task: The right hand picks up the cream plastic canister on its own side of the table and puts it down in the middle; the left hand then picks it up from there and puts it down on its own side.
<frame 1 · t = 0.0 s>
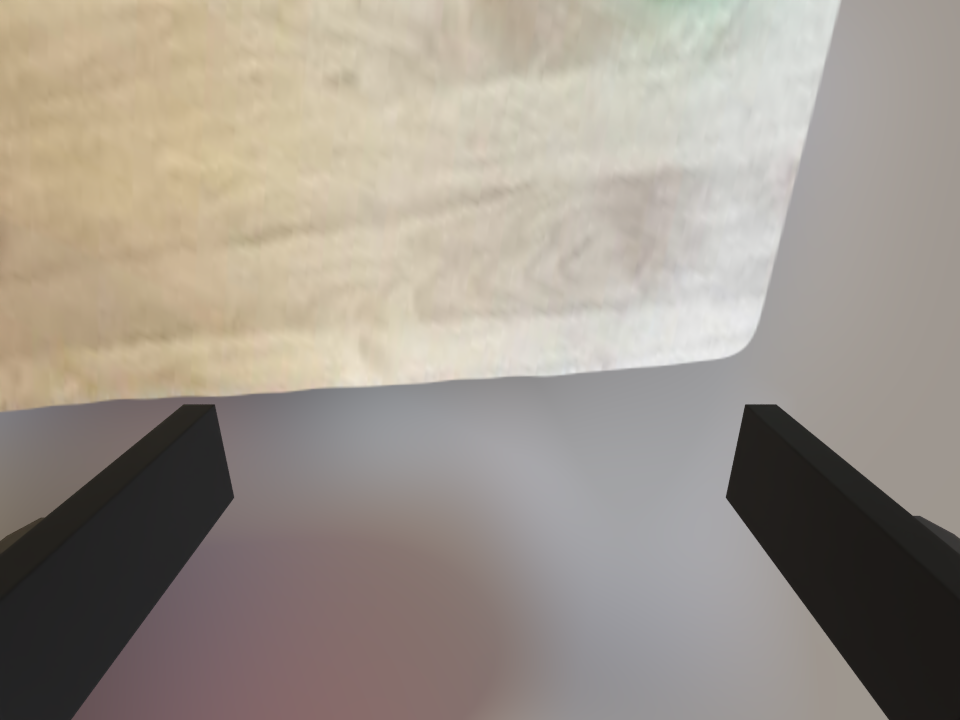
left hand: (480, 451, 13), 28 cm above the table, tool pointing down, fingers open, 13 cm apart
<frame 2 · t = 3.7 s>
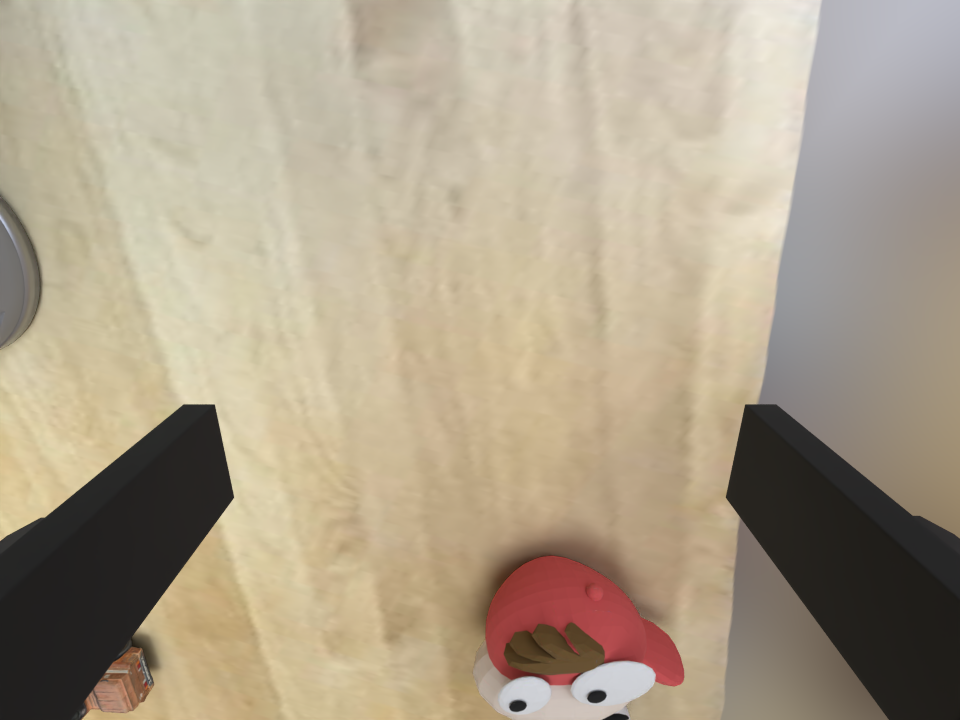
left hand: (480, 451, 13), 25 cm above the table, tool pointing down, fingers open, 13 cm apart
toy: (567, 659, 50), on the table
toy car: (99, 654, 50), on the table
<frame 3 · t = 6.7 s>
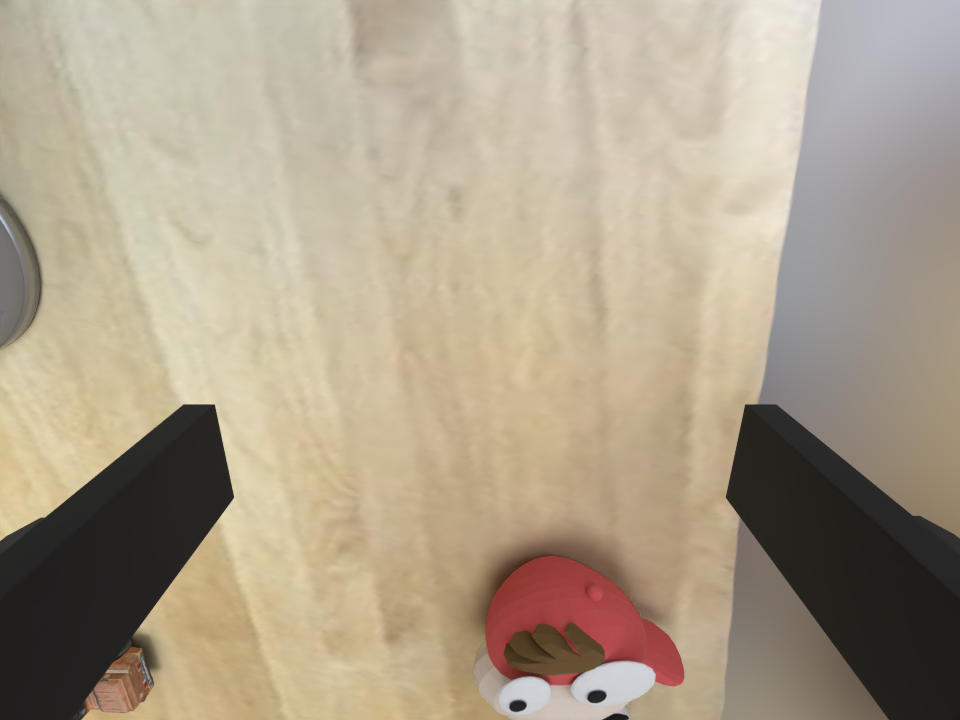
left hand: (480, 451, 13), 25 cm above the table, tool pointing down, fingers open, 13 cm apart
toy: (567, 659, 50), on the table
toy car: (99, 654, 50), on the table
when the right hand's fingers open (4 cm above the table, at t = 10.2 s): canister drops 1 cm, on the table.
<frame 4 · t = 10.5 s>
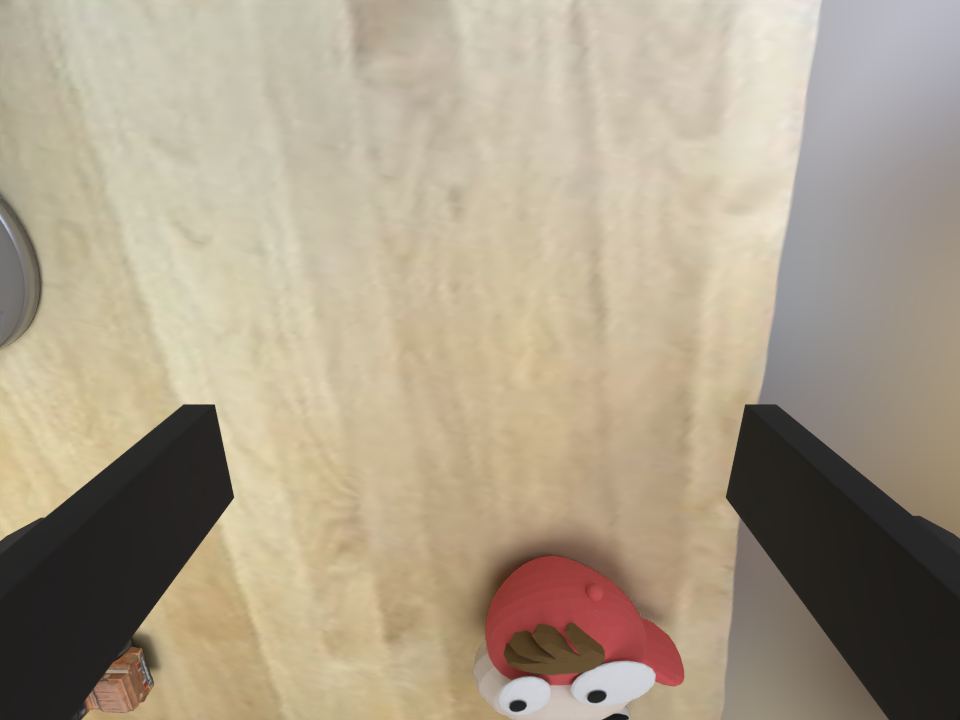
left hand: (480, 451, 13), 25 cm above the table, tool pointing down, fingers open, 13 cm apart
toy: (567, 659, 50), on the table
toy car: (99, 654, 50), on the table
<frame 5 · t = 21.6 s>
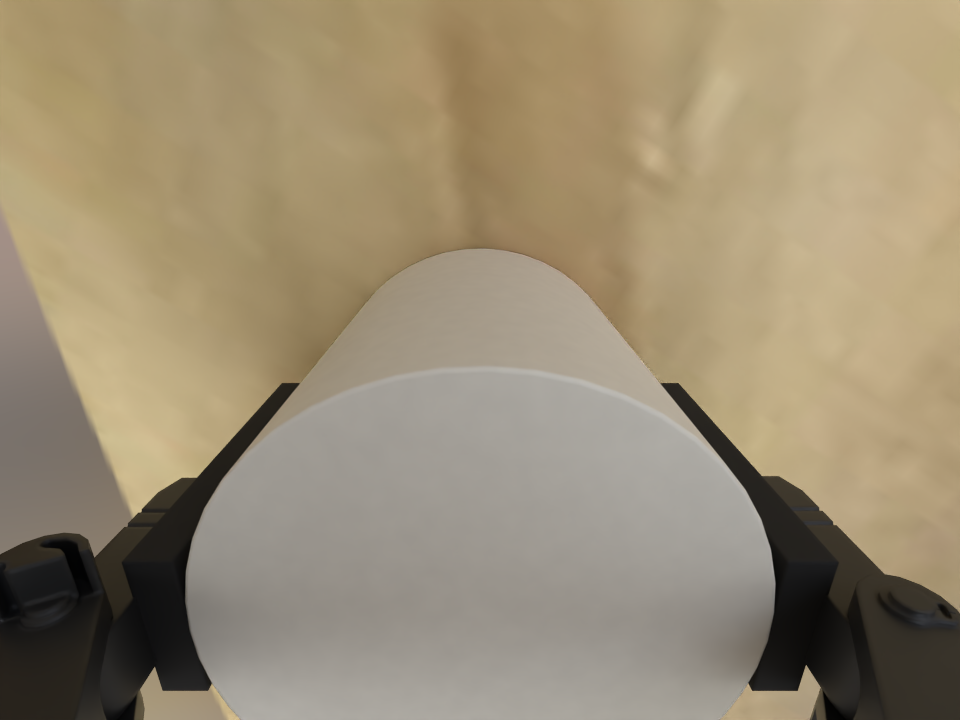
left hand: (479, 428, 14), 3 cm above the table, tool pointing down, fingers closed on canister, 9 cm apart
canister: (480, 388, 17), on the table, touching left hand
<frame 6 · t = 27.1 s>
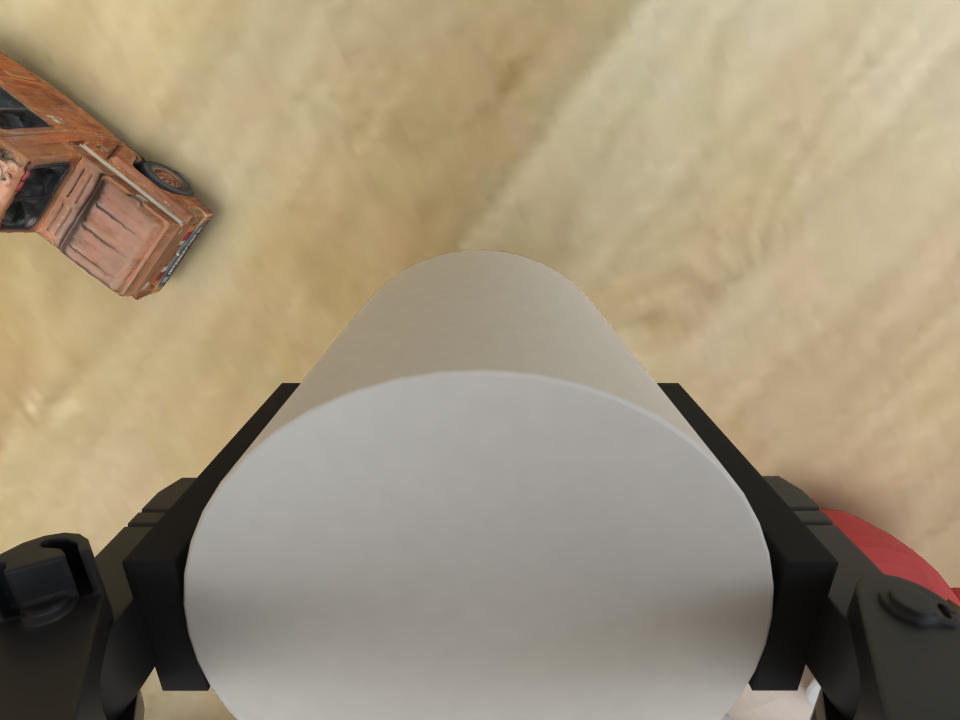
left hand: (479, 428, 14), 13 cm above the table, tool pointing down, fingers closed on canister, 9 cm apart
canister: (479, 389, 17), point 11 cm above the table, touching left hand
toy: (699, 652, 35), on the table
toy car: (95, 169, 24), on the table
when the left hand's fingers open (4 cm above the table, at t = 32.5 s): canister drops 1 cm, on the table.
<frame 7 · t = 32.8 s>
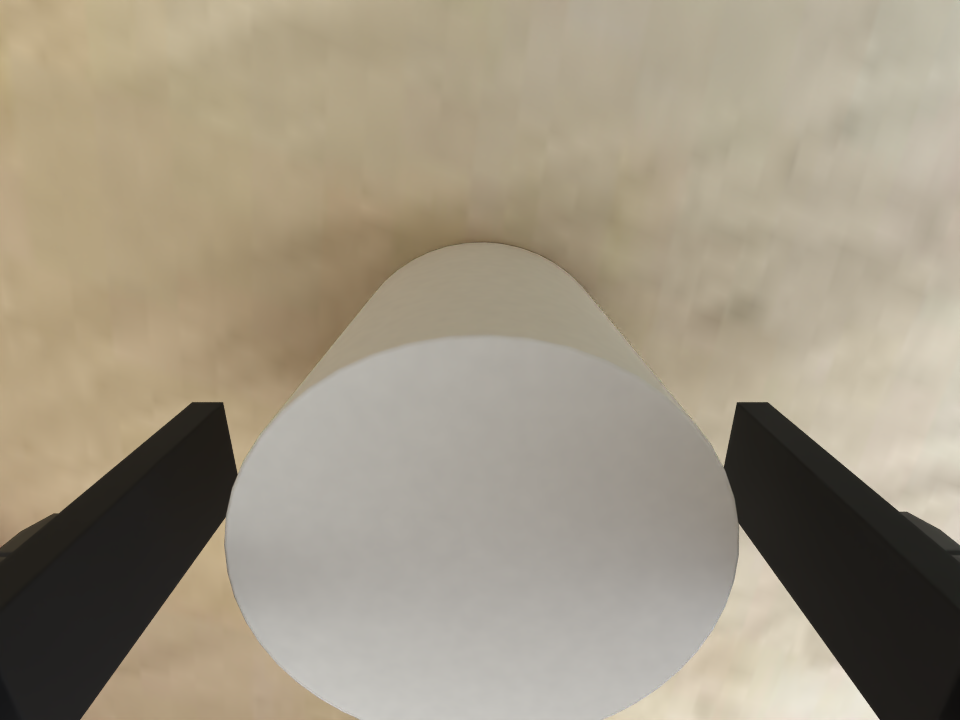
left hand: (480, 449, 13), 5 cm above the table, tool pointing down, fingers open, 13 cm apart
canister: (480, 373, 18), on the table
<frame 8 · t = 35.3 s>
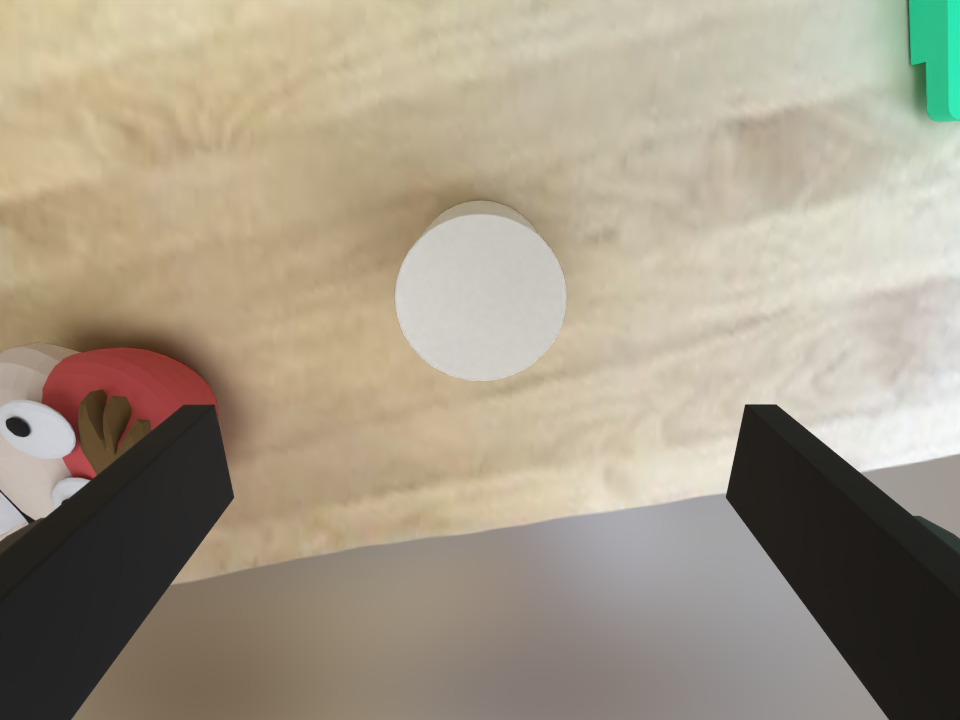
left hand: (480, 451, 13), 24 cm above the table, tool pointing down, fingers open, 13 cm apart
canister: (480, 268, 35), on the table
toy: (64, 441, 40), on the table
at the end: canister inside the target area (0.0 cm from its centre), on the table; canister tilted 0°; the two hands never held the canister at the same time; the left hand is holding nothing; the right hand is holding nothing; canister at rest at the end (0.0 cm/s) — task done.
